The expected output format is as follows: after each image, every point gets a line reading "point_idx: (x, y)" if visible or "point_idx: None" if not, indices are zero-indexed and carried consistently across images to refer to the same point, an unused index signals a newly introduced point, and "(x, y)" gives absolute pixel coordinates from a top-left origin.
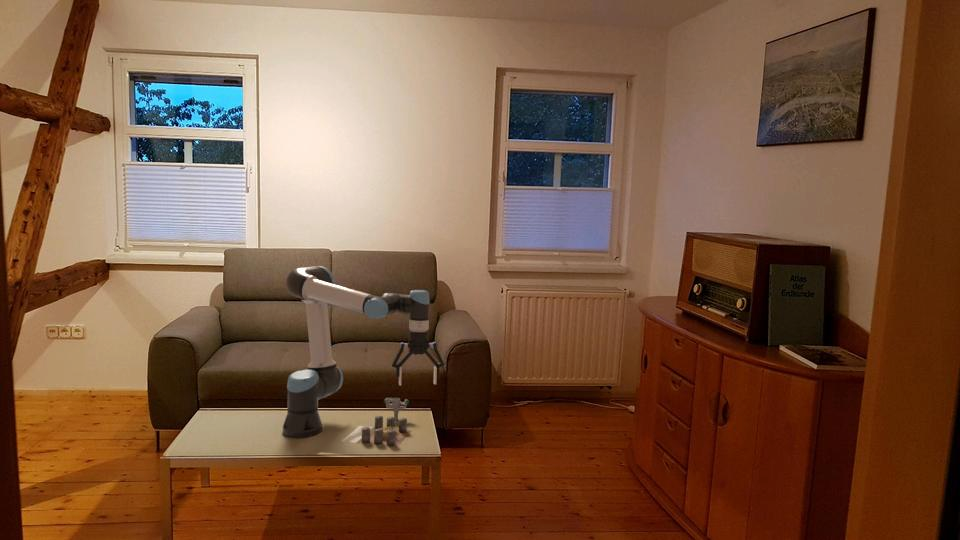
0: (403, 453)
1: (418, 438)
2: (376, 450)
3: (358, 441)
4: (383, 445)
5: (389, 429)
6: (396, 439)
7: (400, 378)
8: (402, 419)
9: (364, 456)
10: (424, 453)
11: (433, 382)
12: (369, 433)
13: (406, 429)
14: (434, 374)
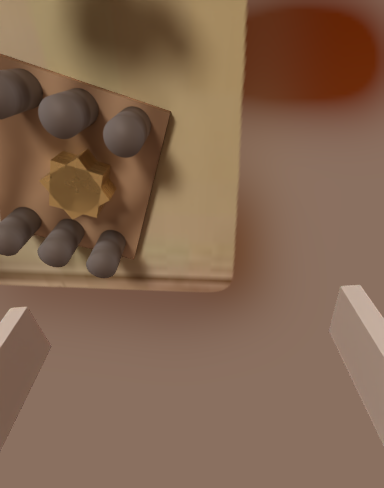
0: (155, 275)
1: (198, 170)
2: (78, 255)
3: (2, 216)
4: (91, 247)
5: (83, 193)
6: (122, 204)
7: (12, 407)
8: (120, 139)
9: (59, 286)
10: (211, 277)
11: (340, 291)
12: (26, 241)
13: (148, 134)
14: (378, 418)
